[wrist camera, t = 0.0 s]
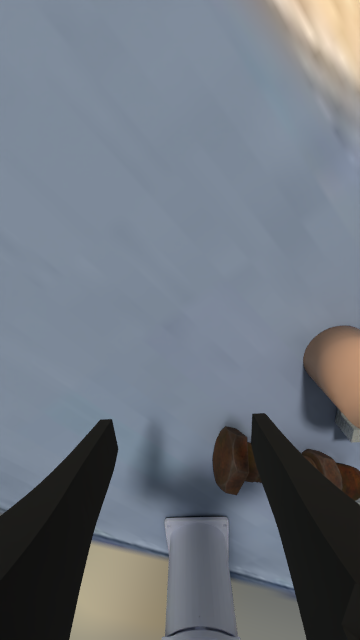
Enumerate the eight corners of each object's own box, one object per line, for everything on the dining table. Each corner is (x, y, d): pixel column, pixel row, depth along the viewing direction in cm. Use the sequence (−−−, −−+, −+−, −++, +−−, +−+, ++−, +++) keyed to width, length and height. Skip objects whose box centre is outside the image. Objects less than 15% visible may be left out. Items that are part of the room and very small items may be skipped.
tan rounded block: (363, 381, 22) (423, 430, 17) (299, 384, 23) (337, 433, 17) (377, 323, 20) (450, 357, 15) (307, 327, 21) (352, 362, 15)
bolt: (330, 456, 28) (213, 430, 27) (365, 448, 25) (231, 418, 23) (345, 518, 25) (211, 493, 23) (390, 520, 21) (233, 490, 19)
